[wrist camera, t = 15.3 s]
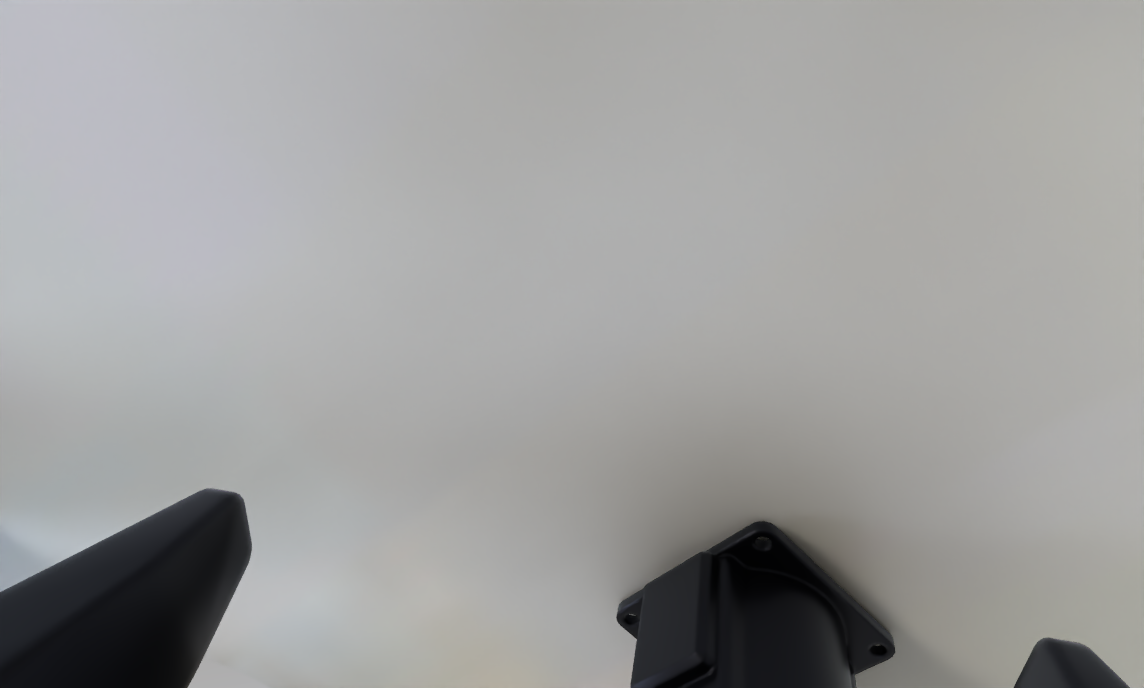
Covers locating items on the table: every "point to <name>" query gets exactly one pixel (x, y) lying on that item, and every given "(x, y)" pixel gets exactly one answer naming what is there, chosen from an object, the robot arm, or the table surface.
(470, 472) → the table surface
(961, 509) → the table surface
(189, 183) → the table surface
